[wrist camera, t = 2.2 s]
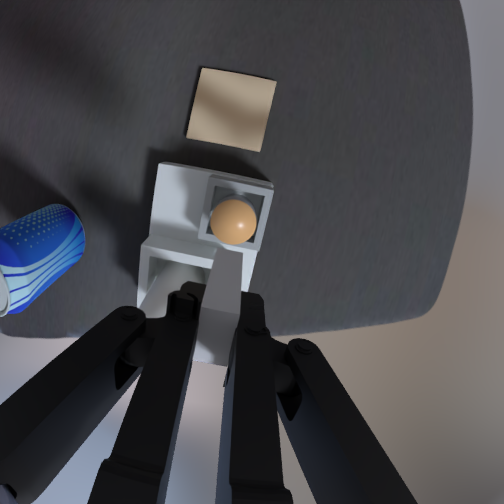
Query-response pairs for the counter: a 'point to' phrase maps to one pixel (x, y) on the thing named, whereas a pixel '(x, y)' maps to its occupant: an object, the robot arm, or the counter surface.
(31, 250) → the beer can
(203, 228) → the housing
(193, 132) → the coaster
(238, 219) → the tan dome
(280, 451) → the robot arm
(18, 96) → the counter surface
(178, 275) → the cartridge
